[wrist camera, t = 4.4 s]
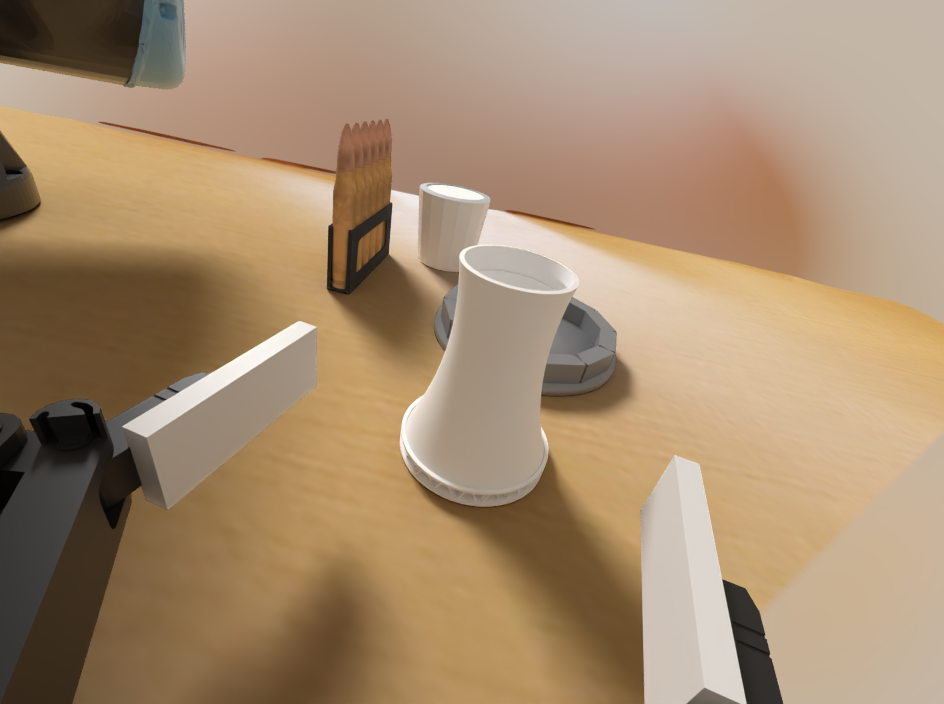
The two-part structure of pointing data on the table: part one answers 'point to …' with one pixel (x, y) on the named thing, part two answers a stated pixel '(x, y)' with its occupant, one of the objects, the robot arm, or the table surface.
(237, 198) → the table surface
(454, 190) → the shot glass
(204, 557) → the table surface
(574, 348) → the socket ring
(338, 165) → the ammunition clip
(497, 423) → the vase
